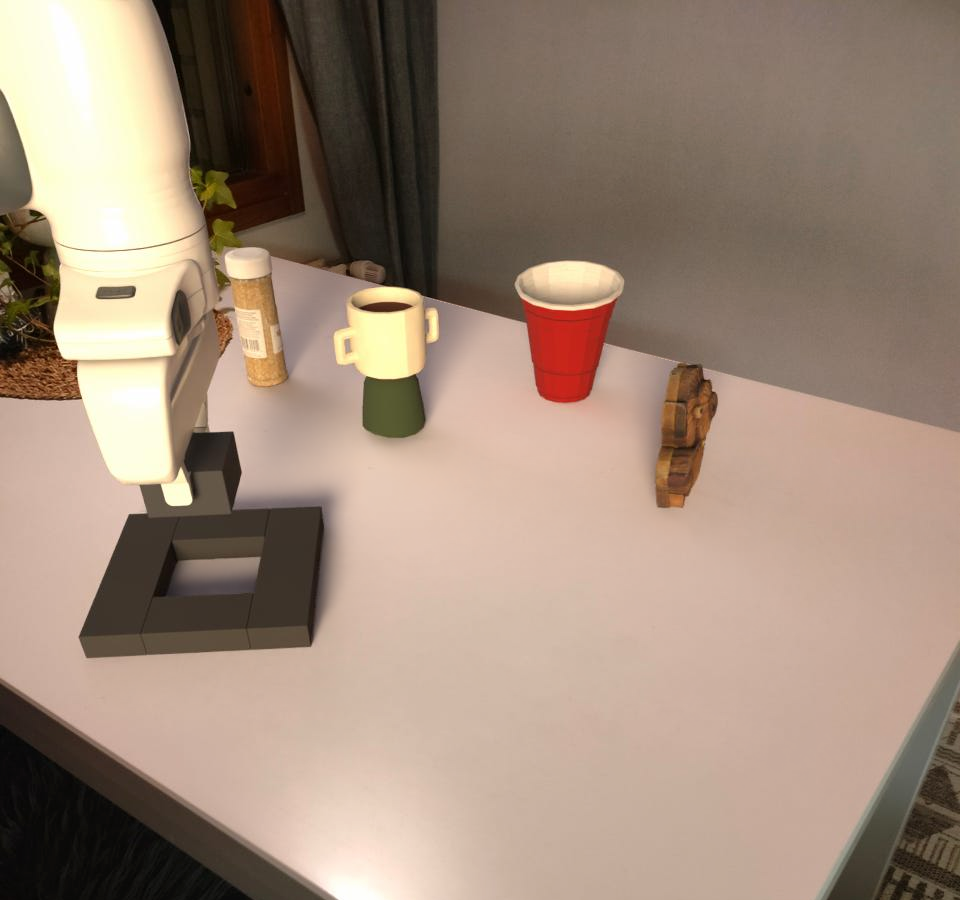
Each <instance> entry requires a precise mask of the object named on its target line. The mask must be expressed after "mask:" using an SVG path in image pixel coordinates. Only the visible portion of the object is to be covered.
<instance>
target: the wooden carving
mask: <svg viewBox="0 0 960 900" xmlns="http://www.w3.org/2000/svg"><path fill="white" fill-rule="evenodd" d="M704 376H705V375H704V368H703V365H702V364H701V363H697V364H688V363H686V362H678V363H677V365H676V367H674V368H673V369H672V370H671V371H670V373H669V377H668V380H667V385H666V391H665V395H664V401H663V403H662V409H661V419H660V423H661V424H660V433H661V446H660V449H659V452H658V456H657V459H656V466H655V473H654V485H655V486H654V488H655V499H656V500H655V502H656V507H657V509H670V508H680V509H683V508H684V506H685V501H686V497H689V496H690V494H691V491H692V489H693V487H694V486H695V484H696V482H697V480H698V478H699V475H700V471H701V467H702V463H703V462H702V461H703V458H704V451H705V446H706V440H707V435H708V434H709V432H710V430H711V425H712V422H713V419H714V417H715V416H716V414H717V409H718V404H719V398H718V394H717V391H713V382H712V380H711V379H709V378H708V379H706V378H705V377H704Z"/></svg>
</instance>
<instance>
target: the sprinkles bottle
mask: <svg viewBox="0 0 960 900" xmlns="http://www.w3.org/2000/svg"><path fill="white" fill-rule="evenodd" d="M224 264H225V270H226V275H228V279H229V281H230V288H231V293H232V298H233V308H234V313H235V319H236V325H237V329H238V335H239V341H240V345H241V351H242V353H243V357H244V363H245V368H246V379H247V381H248V383H250V384H252V385H254V386H259V387H271V386H276V385H280V384H281V383H283V382H285V381H286V380H287V379H288V376H289V372H288V369H287V365H286V358H285V353H284V352H285V351H284V344H283V337H282V332H281V326H280V319H279V312H278V306H277V304H276V298H275V291H274V283H273V279H272V275H273V273H272V272H273V263H272V258H271V253H270V251H269V250H267V249H265V248H262V247H256V246H250V247H249V246H246V247H239V248H234V249H231V250H230V251H228V252H227V253H225V254H224Z"/></svg>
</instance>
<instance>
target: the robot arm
mask: <svg viewBox="0 0 960 900" xmlns="http://www.w3.org/2000/svg"><path fill="white" fill-rule="evenodd" d="M172 56H173V55H172V53H171V50H170V46H169V43H168V39H167V36H166V33H165V30H164V27H163V24H162V21H161V18H160V16H159V14H158V11H157V8H156V6H155V5H154V2H153V0H0V216H4V215H7V214H10V213H13V212H16V211H21V210H31V211H36V212H38V213H40V214H42V215H43V216H44V217H45V218H46V219H47V221H48V223H49V227H50V231H51V236H52V240H53V243H54V246H55V249H56V254H57V256H58V259H59V263H60V265H59V266H58V273H59V282H60V283H59V285H60V286H59V287H60V288H59V297H58V304H57V307H56V312H55V316H54V321H53V335H54V338H55V342H56V345H57V348H58V351H59V354H60V355H61V357H62V358H63V360H67V361H77V364H76V378H77V383H78V389H79V392H80V396H81V399H82V403H83V405H84V409H85V411H86V415H87V417H88V418H87V419H88V420H89V423H90V426H91V429H92V432H93V435H94V437H95V439H96V442H97V445H98V447H99V450H100V452H101V456H102V458H103V460H104V463H105V465H106V467H107V468H108V471H109V473H110V474H111V475H112V476H113V477H114V478H115V479H116V480H117V482H119V483H120V484H122V485H124V486H139V485H152V484H161V486H162V490H163V493H164V497H165V501H166V502H167V503H168V504H169V505H171V506H185V505H190V504H191V503H192V500H193V497H194V494H195V486H194V482H193V478H192V474H191V472H187V469H186V467H185V464H184V459H185V453H186V450H187V447H188V445H189V442H190V439H191V436H192V434H193V433H205V432H211V430H210V427H209V426H210V425H209V404H208V403H209V401H208V398H209V397H208V396H209V395H208V391H209V388H210V386H211V383H212V380H213V378H214V374H215V371H216V369H217V366H218V363H219V361H220V358H221V343H220V342H221V341H220V335H219V331H218V327H217V322H216V318H215V314H214V309H215V308H216V306H217V305H218V304H219V302H220V299H221V293H220V288H219V282H218V278H217V273H216V268H215V261H214V257H213V252H212V248H211V247H212V246H211V242H210V237H209V231H208V226H207V222H206V216H205V213H204V209H203V207H202V205H201V203H200V201H199V199H198V197H197V195H196V192H195V190H194V186H193V184H192V178H191V173H190V172H191V171H190V153H191V139H190V133H189V127H188V123H187V122H188V121H187V117H186V112H185V107H184V103H183V98H182V94H181V90H180V89H181V88H180V84H179V81H178V76H177V73H176V68H175V64H174V61H173V57H172Z"/></svg>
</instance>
